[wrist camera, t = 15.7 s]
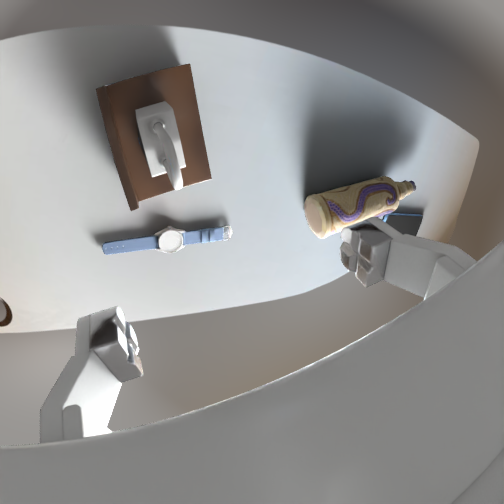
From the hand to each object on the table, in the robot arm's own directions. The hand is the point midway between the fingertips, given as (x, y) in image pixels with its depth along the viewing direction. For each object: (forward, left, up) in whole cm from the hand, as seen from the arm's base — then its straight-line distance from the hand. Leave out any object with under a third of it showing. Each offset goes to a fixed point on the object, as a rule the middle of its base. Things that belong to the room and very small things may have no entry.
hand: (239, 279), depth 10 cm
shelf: (0, -1, -31) cm, 31 cm away
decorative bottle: (-18, +32, -31) cm, 48 cm away
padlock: (0, -1, -25) cm, 25 cm away
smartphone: (-25, +49, -31) cm, 63 cm away
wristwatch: (+10, +12, -31) cm, 35 cm away
